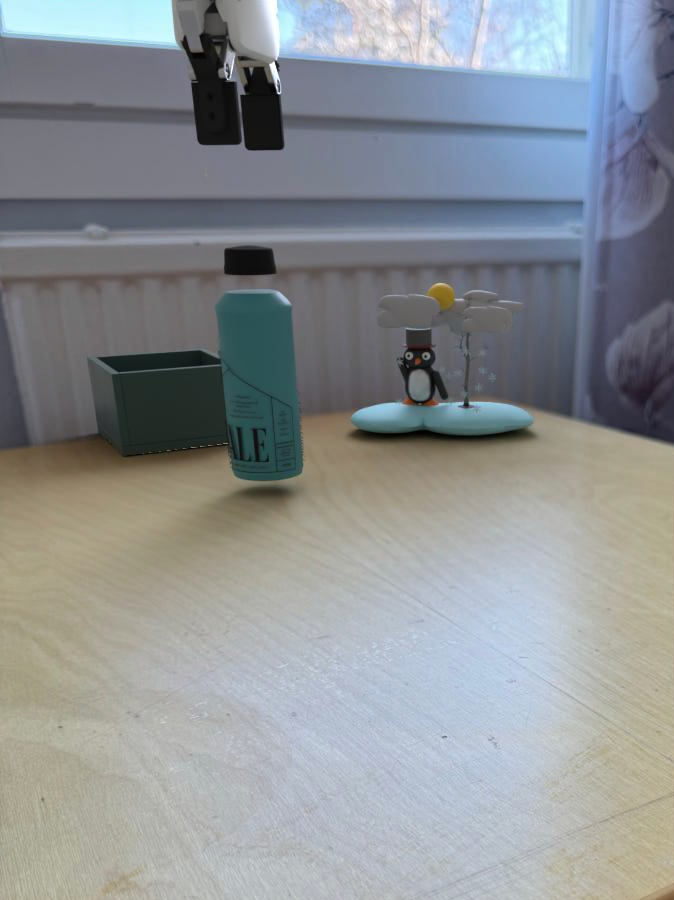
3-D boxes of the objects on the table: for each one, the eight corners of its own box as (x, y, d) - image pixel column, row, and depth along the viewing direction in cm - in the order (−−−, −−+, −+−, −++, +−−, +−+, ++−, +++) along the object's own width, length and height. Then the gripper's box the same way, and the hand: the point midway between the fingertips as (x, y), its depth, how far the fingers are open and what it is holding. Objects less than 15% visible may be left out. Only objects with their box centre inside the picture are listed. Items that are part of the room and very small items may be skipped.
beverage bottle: (309, 478, 91) (294, 243, 83) (302, 499, 85) (285, 247, 77) (237, 479, 91) (214, 243, 82) (225, 500, 85) (199, 247, 76)
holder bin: (123, 456, 98) (111, 374, 95) (98, 432, 108) (86, 356, 105) (247, 442, 104) (240, 364, 101) (212, 420, 114) (205, 348, 111)
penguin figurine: (344, 439, 105) (336, 288, 99) (360, 418, 115) (354, 279, 109) (533, 442, 105) (537, 290, 98) (533, 421, 114) (537, 281, 108)
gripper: (213, -91, 78) (237, 152, 85) (109, -162, 62) (148, 143, 69) (306, -95, 77) (322, 151, 84) (223, -168, 61) (252, 141, 68)
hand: (243, 147), depth 77 cm, fingers open, 9 cm apart
